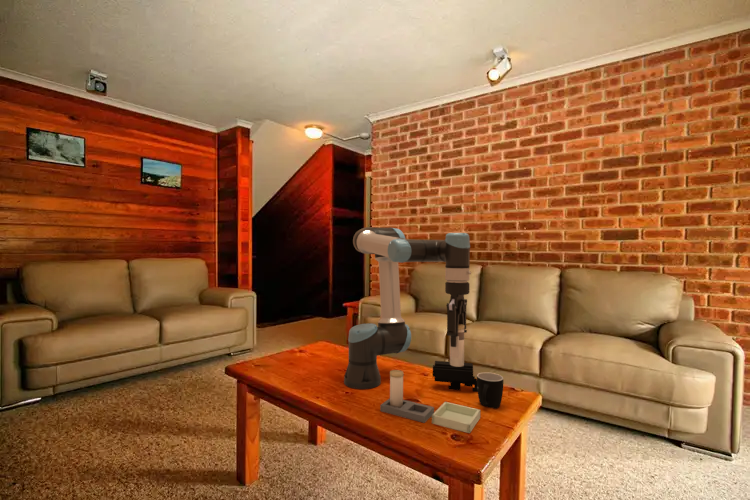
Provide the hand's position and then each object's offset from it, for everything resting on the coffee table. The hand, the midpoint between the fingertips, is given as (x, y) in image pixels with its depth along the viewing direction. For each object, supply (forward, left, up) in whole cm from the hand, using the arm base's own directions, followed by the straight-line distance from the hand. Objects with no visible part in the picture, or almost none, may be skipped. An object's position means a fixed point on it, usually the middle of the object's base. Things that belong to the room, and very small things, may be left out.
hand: (456, 354), depth 116 cm
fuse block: (-16, -3, -21) cm, 27 cm away
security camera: (-9, +27, -22) cm, 36 cm away
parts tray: (0, 0, -21) cm, 21 cm away
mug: (+6, +17, -22) cm, 28 cm away
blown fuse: (0, 0, -3) cm, 3 cm away
